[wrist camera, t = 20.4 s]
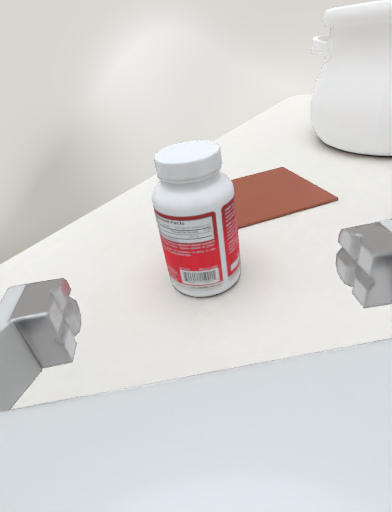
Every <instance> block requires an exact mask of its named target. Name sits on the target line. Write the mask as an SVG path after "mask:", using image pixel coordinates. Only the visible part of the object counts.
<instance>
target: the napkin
mask: <svg viewBox="0 0 392 512" xmlns="http://www.w3.org/2000/svg"><path fill="white" fill-rule="evenodd" d="M231 181H232V183H233V187H234V193H235V205H236V216H237V228H242V227H245V226H249V225H252V224H256V223H259V222H263V221H266V220H270V219H273V218H277V217H280V216H284V215H287V214H291V213H294V212H298V211H301V210H305V209H308V208H312V207H315V206H319V205H322V204H326V203H329V202H333V201H336V200H338V197H336V196H334V195H332V194H330V193H329V192H327V191H325V190H323V189H322V188H320V187H318V186H316V185H314V184H313V183H311V182H309V181H307V180H305V179H304V178H302V177H300V176H298V175H296V174H295V173H293V172H291V171H289V170H288V169H286V168H284V167H280V168H276V169H273V170H269V171H265V172H261V173H257V174H253V175H249V176H245V177H241V178H237V179H234V180H231Z"/></svg>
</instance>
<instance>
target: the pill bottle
mask: <svg viewBox="0 0 392 512" xmlns="http://www.w3.org/2000/svg"><path fill="white" fill-rule="evenodd" d="M154 162H155V167H156V171H157V177H158V178H159V179H160V180H161V181H160V182H159V183H158V184H157V185H156V187H155V188H154V191H153V194H152V202H153V207H154V212H155V216H156V220H157V224H158V228H159V233H160V237H161V241H162V246H163V250H164V254H165V259H166V263H167V267H168V271H169V275H170V279H171V282H172V284H173V285H174V287H175V288H176V289H177V290H179V291H180V292H182V293H184V294H187V295H190V296H195V297H204V296H211V295H216V294H219V293H221V292H223V291H225V290H227V289H228V288H230V287H231V286H232V285H233V284H234V283H235V282H236V281H237V280H238V278H239V276H240V271H241V266H240V252H239V240H238V228H237V216H236V205H235V193H234V187H233V183H232V181H231V180H230V178H229V177H228V176H227V175H225V174H224V173H222V172H220V171H219V170H220V169H221V164H222V159H221V152H220V146H219V145H218V144H217V143H215V142H212V141H205V140H197V141H187V142H182V143H177V144H174V145H171V146H168V147H165V148H163V149H161V150H160V151H158V152H157V153H156V154H155V155H154Z"/></svg>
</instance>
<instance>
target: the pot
mask: <svg viewBox="0 0 392 512" xmlns="http://www.w3.org/2000/svg"><path fill="white" fill-rule="evenodd" d="M323 23H324V25H325V26H328V27H329V26H331V27H330V36H318V37H315V38H313V42H312V50H311V54H323V55H325V63H324V65H323V67H322V70H321V72H320V74H319V77H318V79H317V81H316V83H315V86H314V91H313V95H312V99H311V120H312V124H313V128H314V130H315V132H316V133H317V135H318V136H319V137H320V139H321V140H322V141H323V142H325V143H326V144H328V145H330V146H332V147H335V148H337V149H341V150H344V151H348V152H353V153H358V154H366V155H375V156H392V0H380V1H374V2H367V3H362V4H355V5H350V6H343V7H337V8H333V9H329V10H326V11H325V14H324V18H323Z"/></svg>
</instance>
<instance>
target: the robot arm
mask: <svg viewBox="0 0 392 512" xmlns="http://www.w3.org/2000/svg"><path fill="white" fill-rule="evenodd" d="M338 242H339V243H340V245H341V246H342V248H341V249H340V250H339V252H338V253H337V254H336V267H337V272H338V274H339V277H340V278H341V280H342V281H343V282H344V284H346V285H349V286H351V287H353V290H352V294H353V295H354V296H355V298H356V299H357V300H358V301H359V303H360V304H361V305H362V306H363V308H369V307H376V306H382V305H388V304H392V219H388V220H384V221H379V222H375V223H371V224H365V225H360V226H355V227H350V228H345V229H341V231H340V233H339V239H338ZM70 291H71V288H70V286H69V284H68V282H67V280H65V279H64V278H60V279H54V280H48V281H41V282H35V283H29V284H22V285H17V286H12V287H10V288H8V289H7V291H6V293H5V294H4V296H3V298H2V300H1V302H0V512H392V338H390V339H385V340H380V341H374V342H369V343H364V344H358V345H353V346H347V347H342V348H337V349H331V350H326V351H321V352H315V353H310V354H304V355H299V356H294V357H288V358H283V359H278V360H272V361H267V362H262V363H257V364H251V365H246V366H241V367H235V368H230V369H225V370H219V371H214V372H209V373H204V374H198V375H193V376H188V377H182V378H177V379H172V380H167V381H161V382H156V383H151V384H145V385H140V386H135V387H129V388H124V389H119V390H113V391H108V392H103V393H97V394H92V395H87V396H81V397H76V398H71V399H65V400H60V401H55V402H49V403H44V404H39V405H33V406H28V407H23V408H17V409H12V410H10V409H11V408H12V407H13V405H14V404H15V403H16V402H17V400H18V399H19V398H20V397H21V396H22V394H23V393H24V392H25V391H26V389H27V388H28V387H29V386H30V385H31V383H32V382H33V381H34V380H35V378H36V377H37V376H38V375H39V374H40V372H41V371H42V369H43V368H47V367H52V366H57V365H61V364H66V363H71V362H73V358H74V354H75V349H76V345H77V343H76V341H75V339H74V337H75V336H76V335H77V334H78V333H79V332H80V327H81V314H80V310H79V307H78V304H77V302H76V301H75V300H74V299H72V298H71V297H69V295H70Z"/></svg>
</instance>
